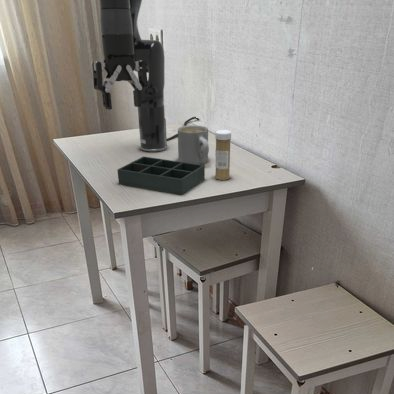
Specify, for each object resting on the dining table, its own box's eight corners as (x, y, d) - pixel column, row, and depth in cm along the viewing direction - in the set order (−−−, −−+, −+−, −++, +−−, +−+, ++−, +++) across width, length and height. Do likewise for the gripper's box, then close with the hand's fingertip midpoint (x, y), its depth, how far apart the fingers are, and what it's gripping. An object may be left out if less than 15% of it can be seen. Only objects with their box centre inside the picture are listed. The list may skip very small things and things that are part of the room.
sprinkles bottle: (231, 176, 148) (233, 130, 140) (226, 181, 145) (227, 133, 136) (218, 174, 150) (219, 128, 141) (212, 179, 146) (213, 132, 138)
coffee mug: (174, 158, 164) (173, 126, 158) (201, 155, 167) (201, 124, 160) (187, 169, 154) (187, 136, 148) (216, 166, 157) (216, 133, 151)
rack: (144, 170, 154) (143, 156, 151) (204, 179, 146) (204, 165, 143) (118, 184, 144) (117, 169, 141) (182, 195, 136) (181, 179, 133)
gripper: (134, 33, 121) (139, 105, 129) (82, 32, 113) (91, 108, 122) (150, 32, 116) (154, 107, 124) (97, 32, 108) (105, 111, 117)
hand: (123, 108), depth 123 cm, fingers open, 8 cm apart
